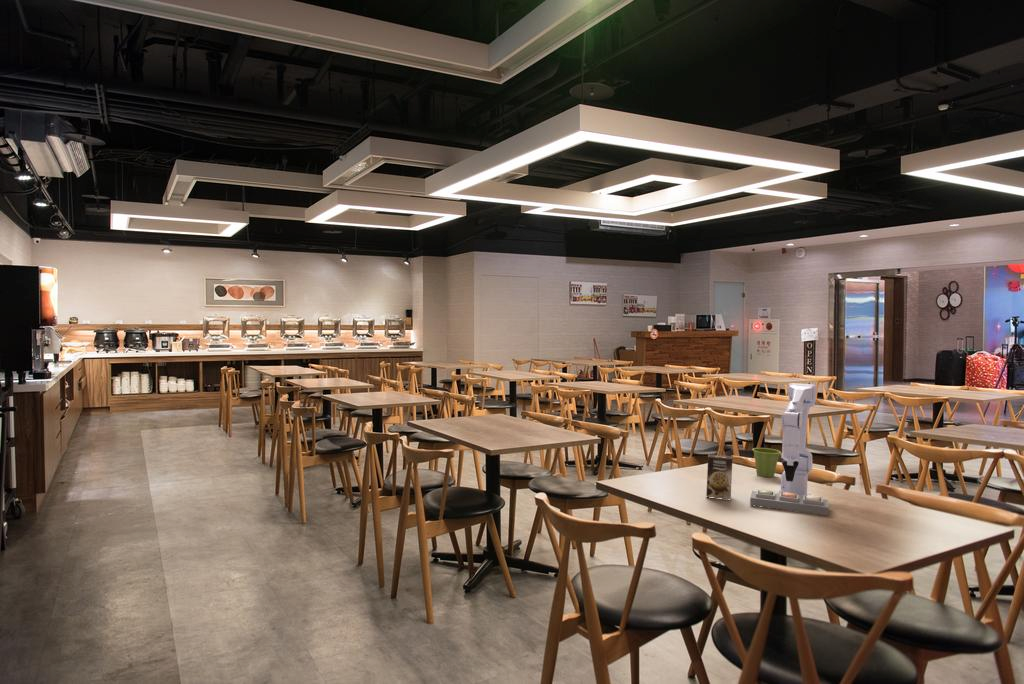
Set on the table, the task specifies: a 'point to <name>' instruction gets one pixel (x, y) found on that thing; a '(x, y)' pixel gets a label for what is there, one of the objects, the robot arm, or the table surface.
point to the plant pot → (766, 461)
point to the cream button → (812, 497)
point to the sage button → (765, 492)
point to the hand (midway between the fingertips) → (789, 480)
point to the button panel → (790, 503)
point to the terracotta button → (788, 495)
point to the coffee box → (719, 476)
